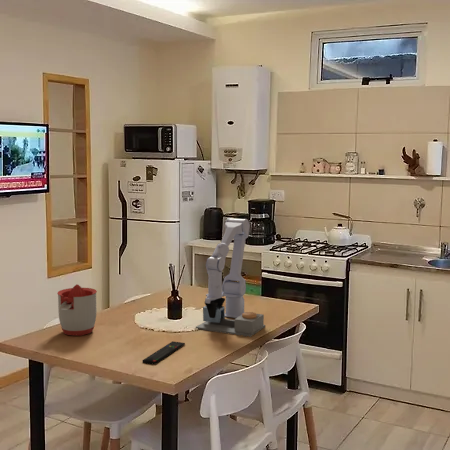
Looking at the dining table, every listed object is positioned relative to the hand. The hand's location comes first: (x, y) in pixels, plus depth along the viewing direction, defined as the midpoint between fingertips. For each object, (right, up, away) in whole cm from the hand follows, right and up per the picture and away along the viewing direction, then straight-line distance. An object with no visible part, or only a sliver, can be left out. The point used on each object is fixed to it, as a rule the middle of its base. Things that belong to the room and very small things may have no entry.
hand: (214, 316), depth 266 cm
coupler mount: (+7, -4, -3) cm, 8 cm away
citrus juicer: (-56, -5, -11) cm, 58 cm away
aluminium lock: (0, -2, 0) cm, 2 cm away
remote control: (-18, -9, -36) cm, 41 cm away
